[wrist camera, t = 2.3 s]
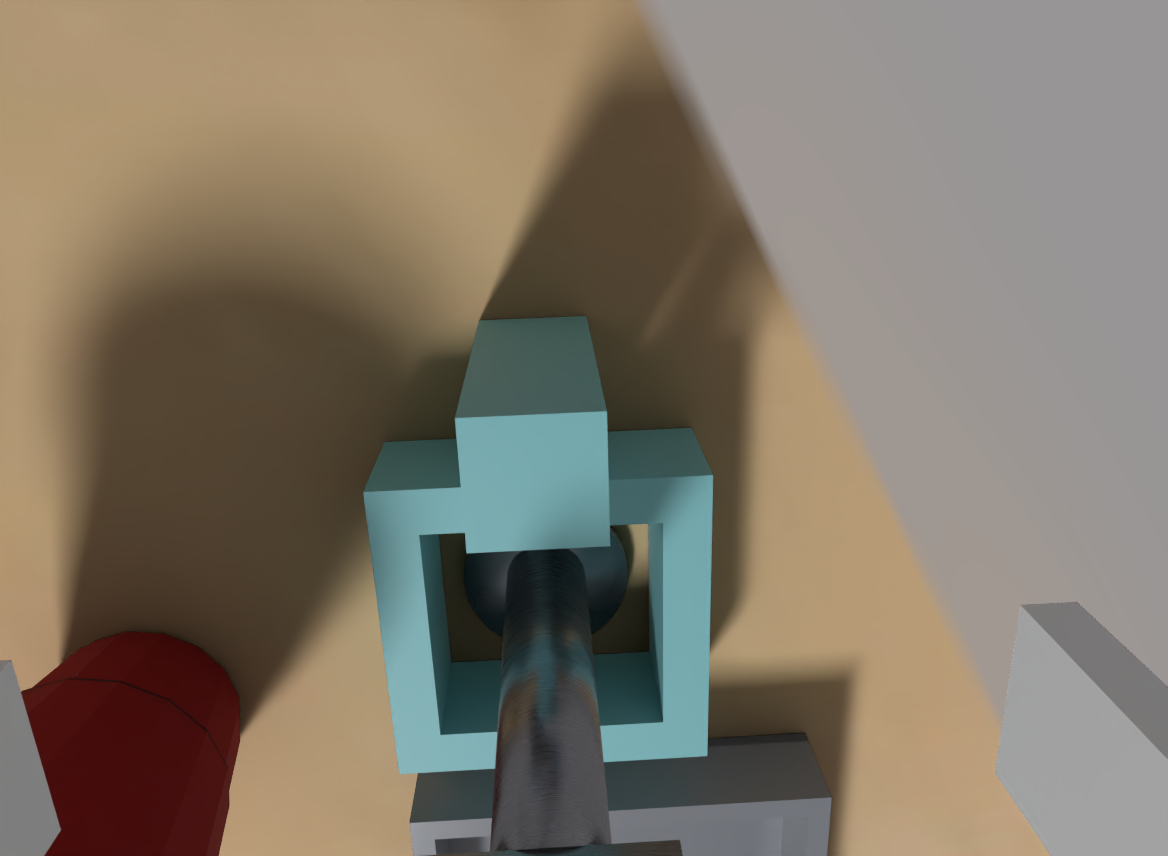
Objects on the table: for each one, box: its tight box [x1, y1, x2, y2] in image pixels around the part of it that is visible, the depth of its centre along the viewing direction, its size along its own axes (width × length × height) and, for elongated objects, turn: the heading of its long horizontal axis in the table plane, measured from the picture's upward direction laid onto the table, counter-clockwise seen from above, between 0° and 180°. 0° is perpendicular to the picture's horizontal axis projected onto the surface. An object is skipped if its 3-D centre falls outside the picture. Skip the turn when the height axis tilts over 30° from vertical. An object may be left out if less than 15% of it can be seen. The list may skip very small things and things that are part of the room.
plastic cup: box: [21, 631, 240, 856], centre depth 24 cm, size 11×11×12 cm
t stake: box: [424, 525, 683, 856], centre depth 22 cm, size 5×5×13 cm
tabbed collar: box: [363, 316, 713, 774], centre depth 24 cm, size 12×9×8 cm
